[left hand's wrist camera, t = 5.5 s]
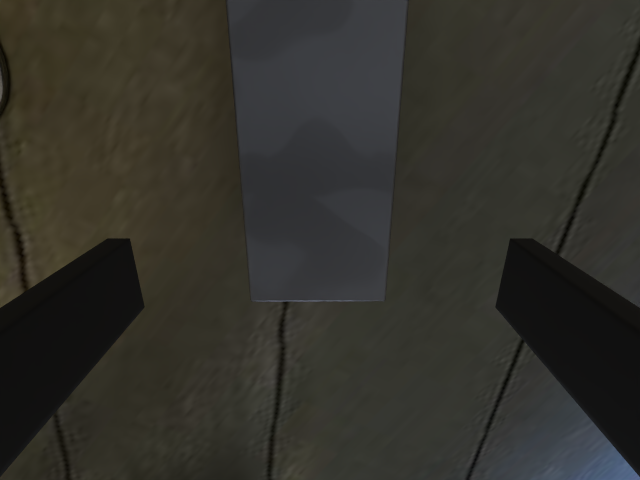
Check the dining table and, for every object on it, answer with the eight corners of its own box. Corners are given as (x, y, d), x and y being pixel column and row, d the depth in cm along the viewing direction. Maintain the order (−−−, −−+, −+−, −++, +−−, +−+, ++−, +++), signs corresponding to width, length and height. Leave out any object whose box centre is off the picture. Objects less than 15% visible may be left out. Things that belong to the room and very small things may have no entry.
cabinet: (261, -46, 21) (210, -180, 11) (373, -46, 21) (423, -179, 11) (274, 230, 28) (250, 302, 18) (361, 230, 28) (385, 301, 18)
